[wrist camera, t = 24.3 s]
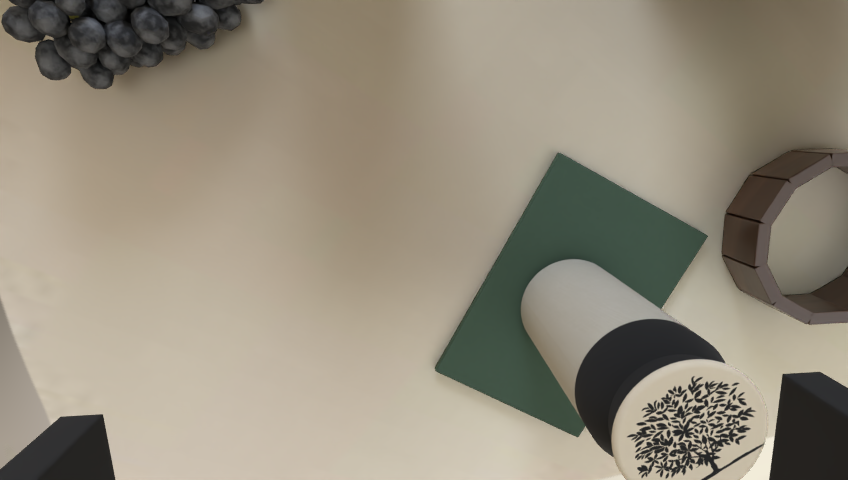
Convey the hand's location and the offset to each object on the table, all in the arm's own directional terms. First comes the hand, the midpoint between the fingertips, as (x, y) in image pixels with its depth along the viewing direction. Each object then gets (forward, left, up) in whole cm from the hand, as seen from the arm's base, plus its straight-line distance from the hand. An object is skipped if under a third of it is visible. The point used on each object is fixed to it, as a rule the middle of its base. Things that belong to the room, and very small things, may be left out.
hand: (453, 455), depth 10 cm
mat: (+1, +15, -31) cm, 34 cm away
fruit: (-4, -21, -31) cm, 38 cm away
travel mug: (+1, +15, -30) cm, 34 cm away
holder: (-13, +29, -31) cm, 44 cm away
